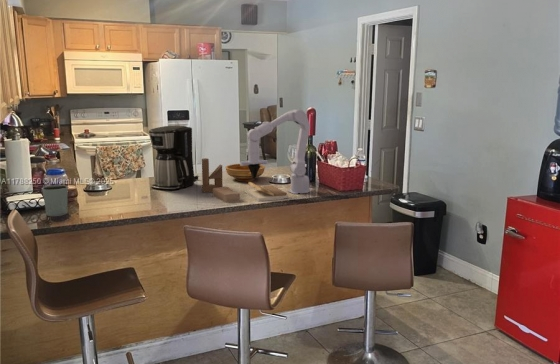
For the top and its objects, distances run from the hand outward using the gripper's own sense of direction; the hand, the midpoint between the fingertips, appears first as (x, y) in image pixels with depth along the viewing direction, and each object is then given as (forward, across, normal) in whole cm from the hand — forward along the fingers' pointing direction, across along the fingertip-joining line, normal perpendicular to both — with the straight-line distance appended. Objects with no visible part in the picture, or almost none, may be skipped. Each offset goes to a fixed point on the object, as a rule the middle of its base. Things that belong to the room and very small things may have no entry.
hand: (253, 178), depth 240 cm
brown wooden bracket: (+9, +18, -15) cm, 26 cm away
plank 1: (+5, -2, 0) cm, 5 cm away
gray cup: (+9, +93, +3) cm, 94 cm away
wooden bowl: (+9, -9, -39) cm, 41 cm away
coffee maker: (+9, +32, -36) cm, 49 cm away
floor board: (+8, -5, +5) cm, 11 cm away
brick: (+9, +16, +3) cm, 18 cm away
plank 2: (+5, -2, +9) cm, 11 cm away
